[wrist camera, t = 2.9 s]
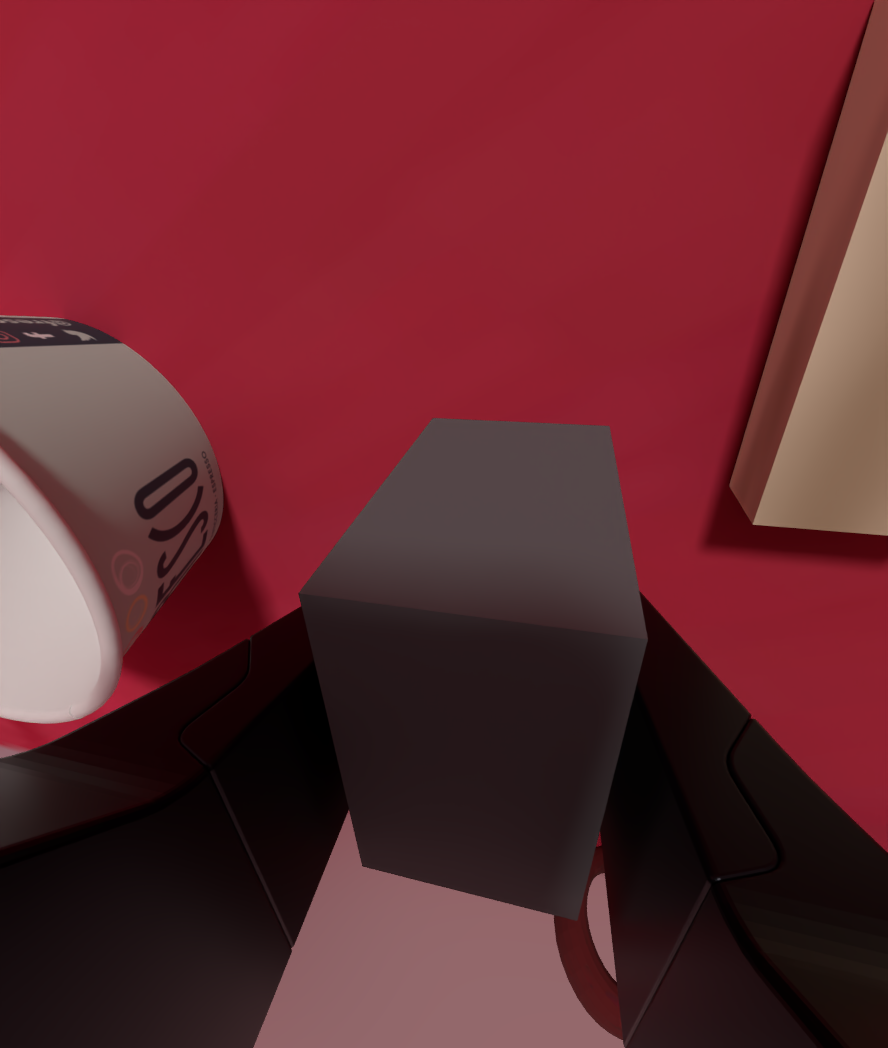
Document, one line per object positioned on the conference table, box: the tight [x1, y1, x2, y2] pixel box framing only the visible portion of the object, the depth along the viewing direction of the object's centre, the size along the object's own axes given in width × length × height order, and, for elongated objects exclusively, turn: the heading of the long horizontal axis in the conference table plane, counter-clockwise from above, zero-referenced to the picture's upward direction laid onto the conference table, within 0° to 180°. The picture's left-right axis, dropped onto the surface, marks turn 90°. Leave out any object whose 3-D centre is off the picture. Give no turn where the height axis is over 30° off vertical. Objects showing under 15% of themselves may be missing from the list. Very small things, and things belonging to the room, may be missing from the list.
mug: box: [554, 846, 623, 1040], centre depth 15 cm, size 10×8×10 cm
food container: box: [0, 315, 223, 723], centre depth 14 cm, size 12×12×7 cm
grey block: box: [298, 418, 648, 921], centre depth 7 cm, size 3×5×5 cm, turn 2°
